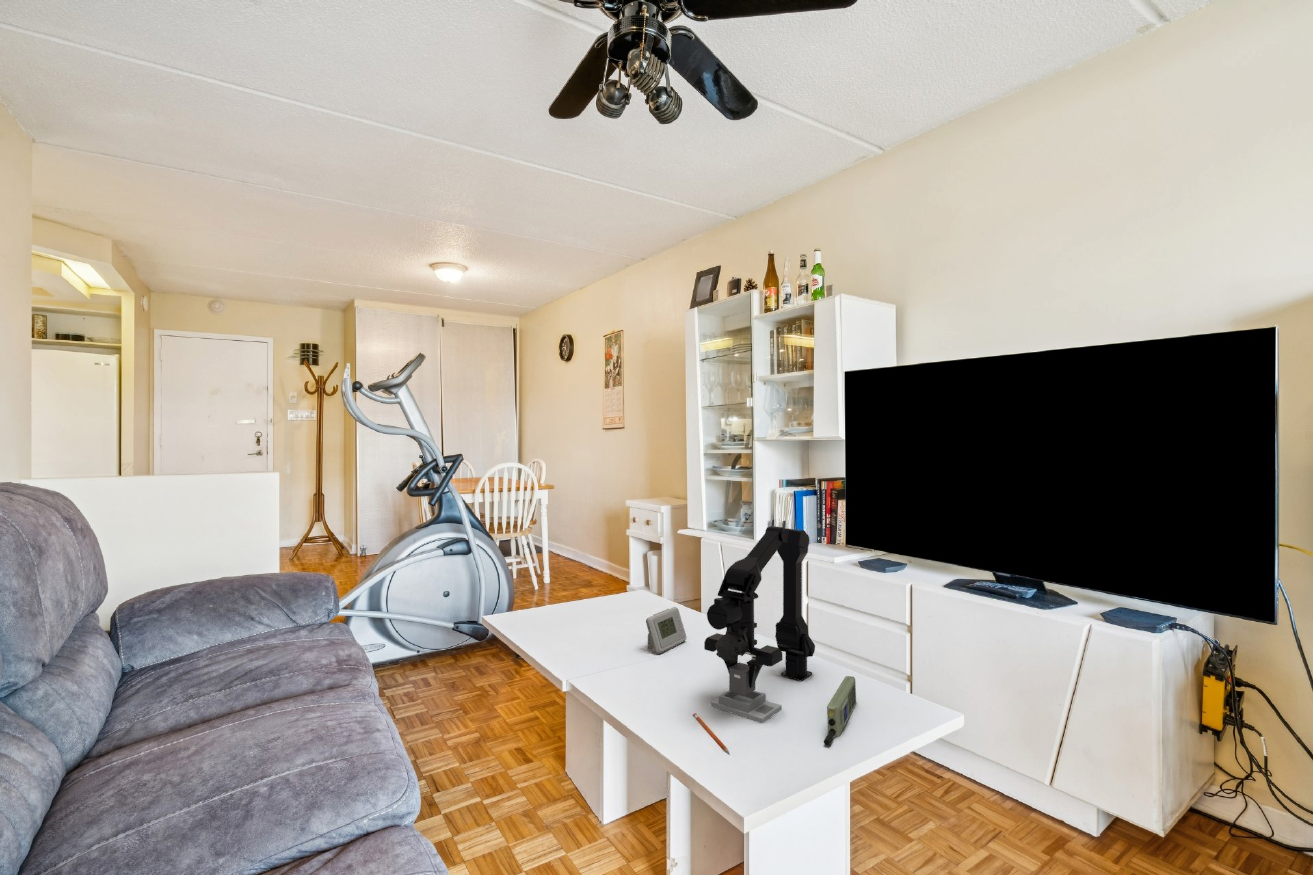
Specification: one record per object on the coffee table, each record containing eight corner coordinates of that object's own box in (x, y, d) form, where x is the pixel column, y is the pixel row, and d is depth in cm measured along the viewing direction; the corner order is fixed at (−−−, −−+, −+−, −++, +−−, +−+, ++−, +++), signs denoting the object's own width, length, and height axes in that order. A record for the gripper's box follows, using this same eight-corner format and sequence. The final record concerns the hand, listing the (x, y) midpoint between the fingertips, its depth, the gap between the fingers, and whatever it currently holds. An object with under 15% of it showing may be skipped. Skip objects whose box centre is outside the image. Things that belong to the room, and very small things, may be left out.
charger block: (739, 684, 148) (739, 662, 148) (755, 689, 146) (755, 666, 146) (729, 690, 145) (729, 667, 145) (745, 695, 142) (745, 672, 142)
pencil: (696, 716, 141) (696, 712, 141) (731, 756, 123) (731, 751, 123) (692, 717, 141) (692, 713, 141) (727, 756, 123) (727, 752, 123)
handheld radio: (858, 704, 147) (835, 750, 125) (844, 702, 148) (819, 747, 126) (857, 676, 147) (833, 717, 125) (843, 674, 148) (817, 715, 127)
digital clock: (656, 656, 179) (656, 620, 180) (636, 649, 186) (636, 614, 186) (694, 643, 191) (694, 609, 191) (674, 637, 197) (674, 604, 197)
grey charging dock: (731, 693, 153) (731, 682, 153) (781, 709, 144) (781, 697, 144) (711, 705, 146) (711, 694, 146) (762, 723, 137) (762, 710, 137)
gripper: (690, 620, 145) (691, 685, 145) (759, 635, 133) (759, 707, 133) (716, 610, 154) (717, 671, 154) (783, 623, 142) (783, 690, 142)
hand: (742, 684), depth 145 cm, fingers closed on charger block, 4 cm apart
